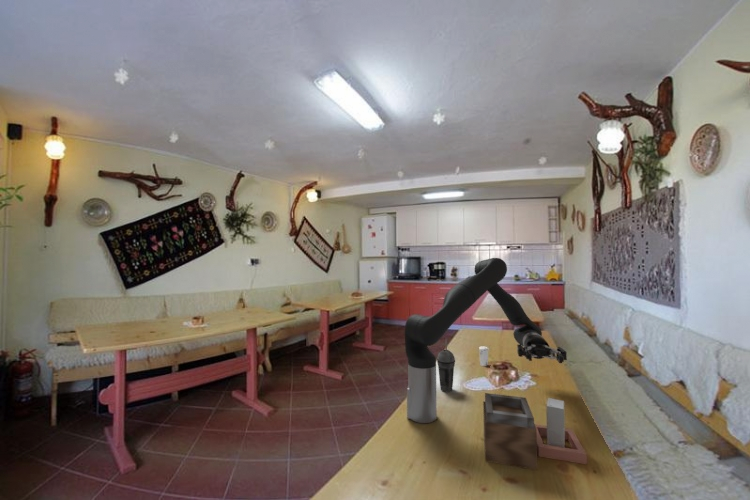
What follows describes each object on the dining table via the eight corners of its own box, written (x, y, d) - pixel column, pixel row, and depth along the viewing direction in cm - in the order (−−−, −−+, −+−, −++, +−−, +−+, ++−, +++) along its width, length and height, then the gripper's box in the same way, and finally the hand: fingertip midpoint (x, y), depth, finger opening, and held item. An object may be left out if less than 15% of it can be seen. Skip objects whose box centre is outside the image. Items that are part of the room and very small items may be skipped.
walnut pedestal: (485, 460, 80) (485, 411, 81) (483, 435, 92) (483, 392, 92) (537, 470, 77) (536, 418, 77) (528, 442, 88) (527, 397, 88)
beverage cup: (435, 391, 122) (434, 340, 123) (438, 384, 129) (438, 336, 129) (454, 394, 119) (453, 342, 120) (456, 387, 126) (456, 337, 127)
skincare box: (565, 455, 82) (564, 409, 83) (546, 450, 85) (545, 405, 85) (565, 443, 87) (564, 400, 88) (548, 439, 90) (547, 397, 90)
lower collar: (538, 456, 82) (538, 446, 82) (530, 432, 93) (530, 423, 93) (586, 464, 79) (586, 454, 79) (572, 438, 90) (571, 429, 90)
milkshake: (491, 367, 149) (491, 346, 149) (479, 366, 150) (479, 345, 150) (489, 364, 154) (489, 343, 154) (478, 363, 155) (478, 343, 155)
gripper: (513, 333, 115) (520, 345, 99) (557, 335, 111) (571, 348, 95) (514, 353, 115) (521, 368, 99) (557, 356, 111) (571, 373, 95)
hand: (545, 358), depth 97 cm, fingers open, 8 cm apart
